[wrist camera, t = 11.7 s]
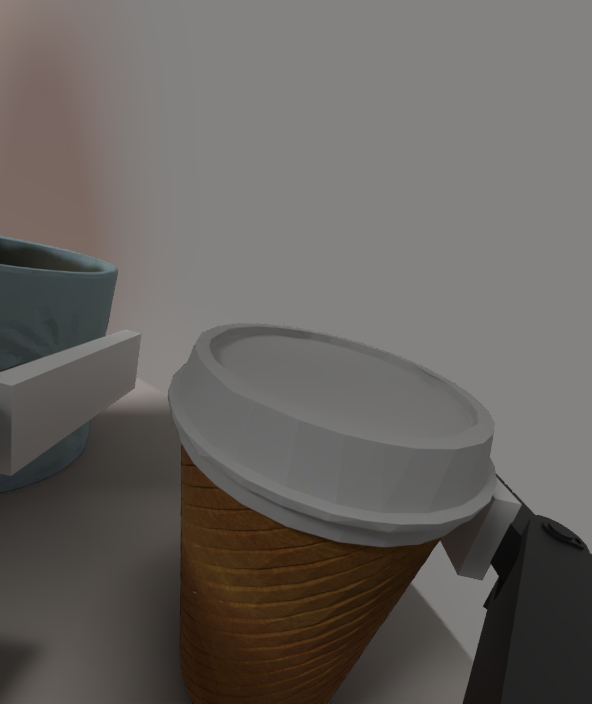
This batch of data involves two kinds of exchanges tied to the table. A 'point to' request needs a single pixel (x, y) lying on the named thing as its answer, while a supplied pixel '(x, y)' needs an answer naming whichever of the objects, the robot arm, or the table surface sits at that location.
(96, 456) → the table surface
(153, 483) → the table surface
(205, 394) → the disposable coffee cup
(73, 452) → the teal embossed cup
